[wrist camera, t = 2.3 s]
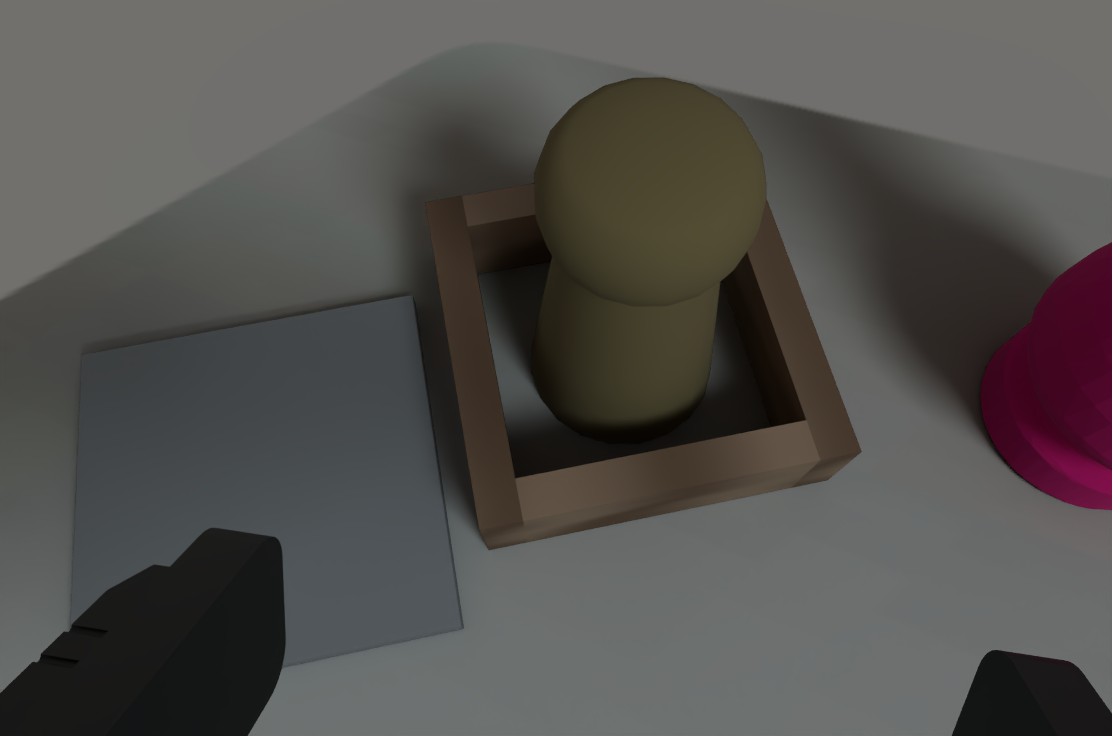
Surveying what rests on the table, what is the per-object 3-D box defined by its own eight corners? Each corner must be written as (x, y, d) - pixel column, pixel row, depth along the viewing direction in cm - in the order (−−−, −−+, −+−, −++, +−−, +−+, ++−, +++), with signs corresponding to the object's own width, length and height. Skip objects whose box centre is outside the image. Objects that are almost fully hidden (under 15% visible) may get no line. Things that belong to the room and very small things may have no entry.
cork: (500, 324, 27) (462, 94, 17) (652, 254, 28) (703, -4, 18) (583, 476, 24) (598, 318, 14) (745, 393, 26) (864, 192, 15)
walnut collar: (488, 549, 24) (479, 529, 21) (438, 251, 28) (425, 202, 25) (827, 479, 24) (861, 451, 22) (729, 200, 29) (746, 146, 26)
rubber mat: (79, 710, 22) (66, 711, 21) (92, 362, 26) (81, 354, 26) (464, 628, 23) (461, 627, 22) (415, 303, 27) (412, 294, 26)
